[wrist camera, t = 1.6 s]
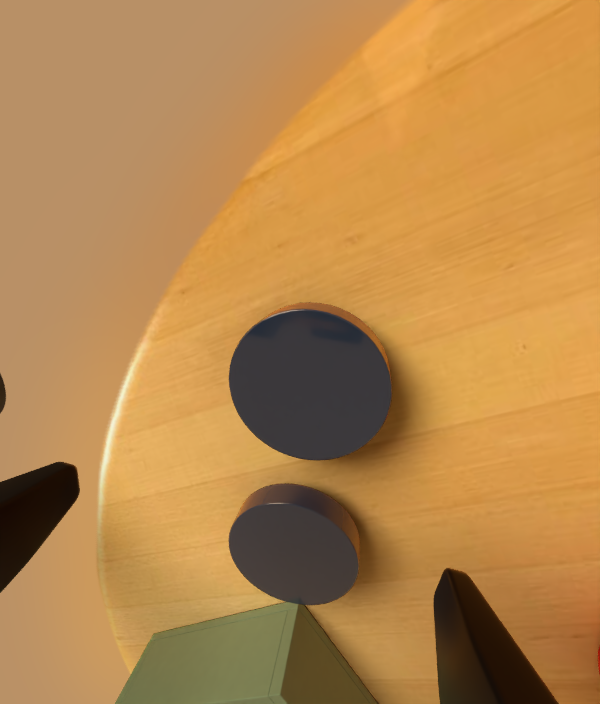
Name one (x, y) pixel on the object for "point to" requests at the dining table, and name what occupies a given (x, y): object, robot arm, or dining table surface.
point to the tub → (245, 663)
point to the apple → (599, 659)
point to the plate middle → (296, 544)
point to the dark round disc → (311, 381)
